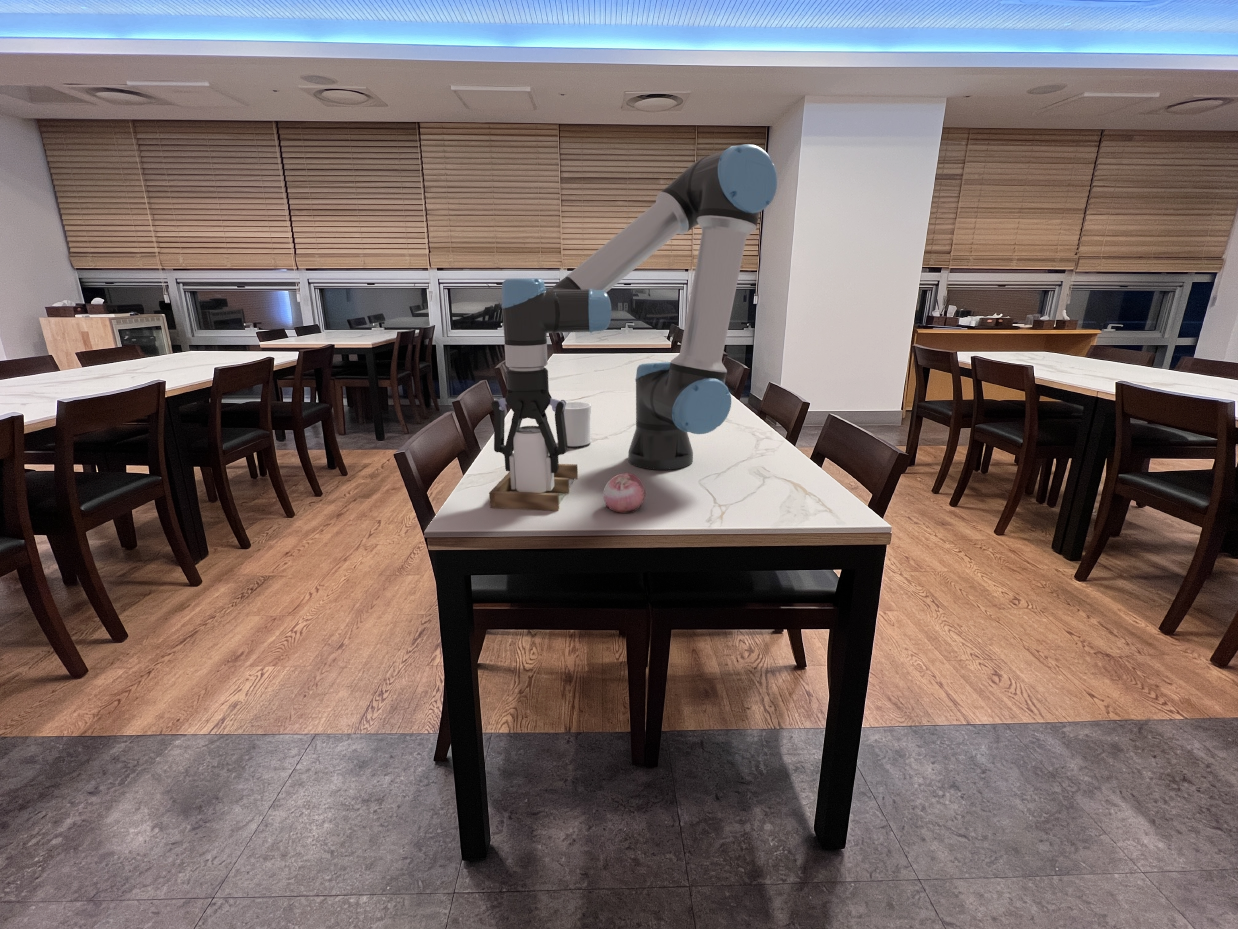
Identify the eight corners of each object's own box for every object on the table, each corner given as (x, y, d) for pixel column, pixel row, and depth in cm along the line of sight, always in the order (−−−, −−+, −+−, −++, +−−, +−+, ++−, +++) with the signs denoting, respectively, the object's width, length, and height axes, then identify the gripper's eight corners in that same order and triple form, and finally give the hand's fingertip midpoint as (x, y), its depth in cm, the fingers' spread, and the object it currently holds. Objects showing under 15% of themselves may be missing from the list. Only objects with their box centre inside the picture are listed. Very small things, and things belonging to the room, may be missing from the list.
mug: (591, 448, 148) (590, 408, 145) (555, 448, 148) (554, 408, 145) (593, 437, 158) (592, 400, 155) (560, 437, 158) (559, 400, 155)
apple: (619, 523, 105) (605, 489, 102) (603, 512, 112) (590, 479, 109) (656, 503, 107) (644, 469, 105) (638, 494, 114) (626, 461, 112)
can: (543, 496, 109) (541, 434, 106) (511, 494, 111) (507, 432, 107) (554, 485, 115) (552, 426, 112) (523, 483, 117) (520, 424, 113)
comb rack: (577, 477, 126) (577, 464, 125) (558, 510, 108) (557, 495, 107) (519, 475, 128) (518, 462, 127) (490, 507, 110) (489, 492, 109)
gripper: (583, 365, 108) (585, 483, 115) (482, 364, 111) (491, 479, 118) (575, 371, 101) (578, 496, 108) (468, 369, 104) (478, 492, 111)
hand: (533, 487), depth 113 cm, fingers closed on can, 6 cm apart
